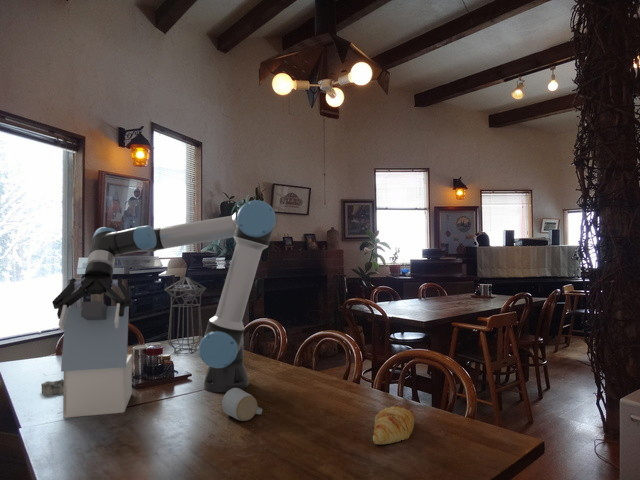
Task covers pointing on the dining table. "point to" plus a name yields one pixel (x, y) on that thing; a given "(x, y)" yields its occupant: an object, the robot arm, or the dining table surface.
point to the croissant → (393, 425)
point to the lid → (94, 338)
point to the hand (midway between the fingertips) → (89, 326)
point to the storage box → (97, 391)
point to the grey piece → (52, 387)
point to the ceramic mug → (240, 405)
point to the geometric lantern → (183, 312)
